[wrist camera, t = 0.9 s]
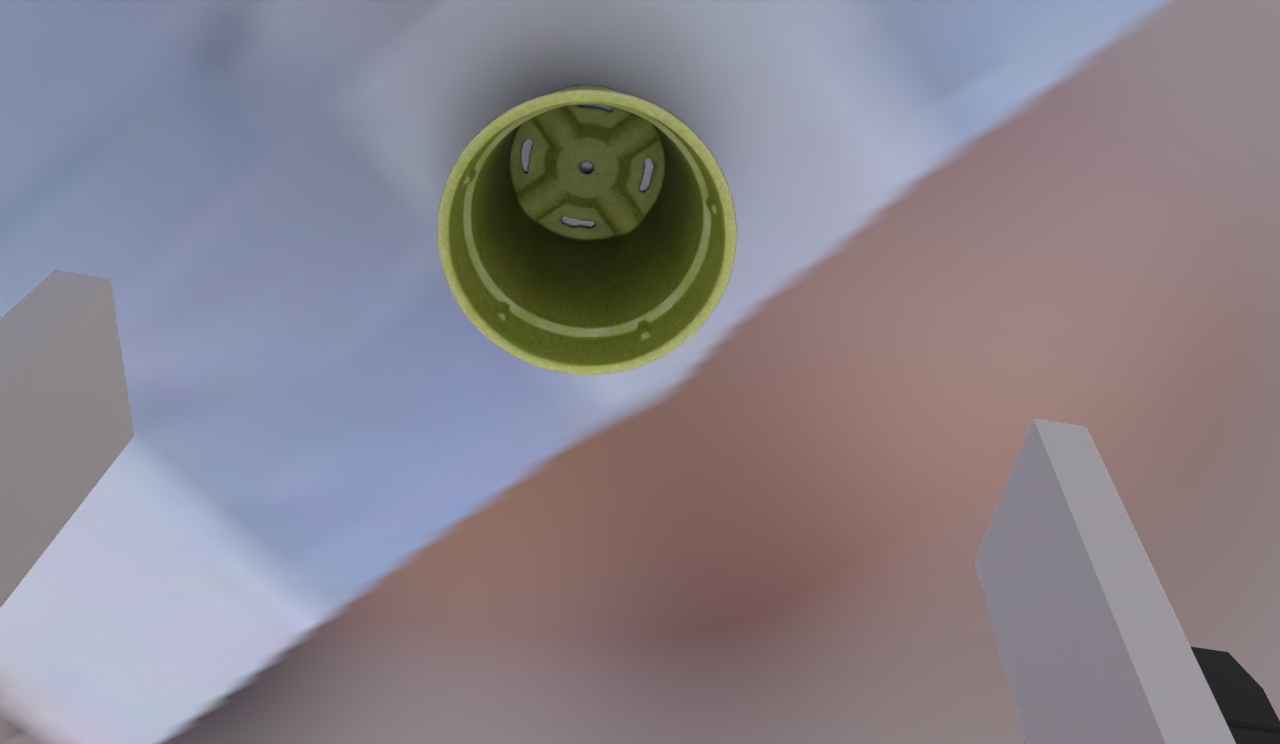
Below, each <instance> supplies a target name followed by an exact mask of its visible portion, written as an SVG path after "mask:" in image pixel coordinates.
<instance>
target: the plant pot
mask: <svg viewBox="0 0 1280 744" xmlns="http://www.w3.org/2000/svg"><path fill="white" fill-rule="evenodd" d="M579 104H598V105H606V106H612V107H613V111H612V112H608V111H605V110H600V109H595V108H588V107H579V106H578V105H579ZM527 139H532V140H533V142H534V143H533V146H532V150H531V154H530V160H529V167H528V170H529V171H528V173H527V174H525V172H524V171H523V169H522V165H521V151H522V146H523V143H524V142H525V141H526V140H527ZM647 158H650V159H651V160H652V161H653V164H654V172H653V175H652V180H651V184H650V186H649V187H648V189H647V190H646V191H645V192H641V191H640V189H639V187H640V184H641V181H642V179H643V175H644V168H645V166H644V162H645V160H646V159H647ZM583 162H590V163H591V164H593V166H594V170H593V171H592V172H591V173H590V174H587V173H583V172H582V171H581V170H580V164H582V163H583ZM564 216H566V217H569V218H575V219H578V220H586V221H594V222H595V223H596V225H594V227H593V228H582V227H577V228H573V227H570V226H567V225H565V224H563V223H562V221H561V218H562V217H564ZM437 239H438V250H439V256H440V260H441V264H442V268H443V271H444V274H445V277H446V280H447V282H448V284H449V287H450V289H451V292H452V294H453V296H454V297H455V299H456V301H457V303H458V304H459V306H460V308H461V309H462V310H463V312H464V313H465V315H466V316H467V317H468V318H469V320H470V321H471V322H472V323H473V324H474V325H475V326H476V328H477V329H478V330H479V331H480V332H481V333H482V334H484V335H485V336H486V337H487V338H488V339H489V340H491V341H492V342H493V343H495V344H496V345H498V346H499V347H500V348H502V349H504V350H505V351H507V352H508V353H510V354H512V355H513V356H515V357H517V358H519V359H521V360H523V361H525V362H527V363H529V364H532V365H534V366H538V367H541V368H544V369H547V370H552V371H557V372H565V373H570V374H578V375H597V374H609V373H616V372H622V371H626V370H630V369H634V368H637V367H640V366H642V365H645V364H647V363H649V362H651V361H654V360H656V359H658V358H660V357H662V356H664V355H666V354H668V353H670V352H671V351H673V350H674V349H676V348H677V347H679V346H680V345H681V344H682V343H684V342H685V341H686V340H687V339H688V338H690V337H691V336H692V335H693V334H694V333H695V332H696V331H697V330H698V329H699V328H700V327H701V326H702V325H703V324H704V322H705V321H706V320H707V319H708V318H709V316H710V315H711V314H712V312H713V311H714V309H715V308H716V306H717V304H718V303H719V301H720V299H721V297H722V295H723V293H724V291H725V288H726V286H727V284H728V281H729V278H730V274H731V271H732V267H733V263H734V257H735V251H736V218H735V211H734V205H733V201H732V197H731V193H730V190H729V187H728V184H727V182H726V179H725V177H724V174H723V172H722V170H721V168H720V166H719V164H718V163H717V161H716V159H715V158H714V156H713V155H712V153H711V152H710V150H709V149H708V148H707V146H706V145H705V144H704V142H703V141H702V140H701V139H700V138H699V137H698V136H697V135H696V133H695V132H694V131H693V130H692V129H690V128H689V127H688V126H687V125H686V124H685V123H684V122H682V121H681V120H680V119H679V118H677V117H676V116H675V115H673V114H672V113H670V112H668V111H667V110H665V109H663V108H662V107H660V106H658V105H656V104H654V103H652V102H650V101H647V100H645V99H642V98H640V97H637V96H634V95H631V94H627V93H623V92H618V91H615V90H612V89H609V88H605V87H600V86H591V85H584V86H573V87H567V88H563V89H560V90H558V91H555V92H553V93H549V94H545V95H541V96H538V97H535V98H532V99H530V100H527V101H525V102H523V103H520V104H518V105H516V106H514V107H512V108H510V109H509V110H507V111H506V112H504V113H503V114H501V115H499V116H498V117H496V118H495V119H494V120H492V121H491V122H490V123H489V124H487V125H486V126H485V127H484V128H483V129H482V130H481V131H480V132H479V133H478V134H477V135H476V136H475V137H474V138H473V139H472V140H471V141H470V143H469V144H468V145H467V146H466V147H465V149H464V150H463V152H462V153H461V155H460V156H459V158H458V159H457V161H456V163H455V165H454V166H453V168H452V170H451V172H450V174H449V177H448V179H447V182H446V185H445V188H444V191H443V194H442V197H441V201H440V207H439V212H438V224H437Z"/></svg>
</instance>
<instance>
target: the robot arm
mask: <svg viewBox="0 0 1280 744" xmlns="http://www.w3.org/2000/svg"><path fill="white" fill-rule="evenodd" d="M133 436H134V433H133V426H132V420H131V413H130V407H129V400H128V393H127V387H126V380H125V374H124V367H123V361H122V354H121V348H120V341H119V334H118V328H117V321H116V315H115V308H114V302H113V295H112V288H111V282H110V279H108V278H102V277H95V276H88V275H82V274H75V273H69V272H62V271H54V272H53V273H52V274H51V275H50V276H49V277H47V278H46V279H45V280H44V281H43V282H42V283H41V284H40V285H39V286H37V287H36V288H35V289H34V290H33V291H32V292H31V293H30V294H28V295H27V296H26V297H25V298H24V299H23V300H22V301H21V302H20V303H18V304H17V305H16V306H15V307H14V308H13V309H12V310H11V311H9V312H8V313H7V314H6V315H5V316H4V317H3V318H2V319H1V320H0V608H1V606H2V605H3V604H4V603H5V601H6V600H7V599H8V597H9V596H10V595H11V594H12V592H13V591H14V590H15V588H16V587H17V586H18V585H19V583H20V582H21V581H22V579H23V578H24V577H25V575H26V574H27V573H28V572H29V570H30V569H31V568H32V566H33V565H34V564H35V563H36V561H37V560H38V559H39V557H40V556H41V555H42V554H43V552H44V551H45V550H46V548H47V547H48V546H49V545H50V543H51V542H52V541H53V539H54V538H55V537H56V535H57V534H58V533H59V532H60V530H61V529H62V528H63V526H64V525H65V524H66V523H67V521H68V520H69V519H70V517H71V516H72V515H73V514H74V512H75V511H76V510H77V508H78V507H79V506H80V504H81V503H82V502H83V501H84V499H85V498H86V497H87V495H88V494H89V493H90V492H91V490H92V489H93V488H94V486H95V485H96V484H97V483H98V481H99V480H100V479H101V477H102V476H103V475H104V474H105V472H106V471H107V470H108V468H109V467H110V466H111V464H112V463H113V462H114V461H115V459H116V458H117V457H118V455H119V454H120V453H121V452H122V450H123V449H124V448H125V446H126V445H127V444H128V443H129V441H130V440H131V439H132V437H133ZM974 562H975V565H976V569H977V573H978V576H979V580H980V583H981V587H982V591H983V594H984V598H985V602H986V605H987V609H988V612H989V616H990V620H991V623H992V627H993V630H994V634H995V638H996V641H997V645H998V649H999V652H1000V656H1001V659H1002V663H1003V667H1004V670H1005V674H1006V678H1007V681H1008V684H1009V689H1010V692H1011V696H1012V699H1013V703H1014V707H1015V710H1016V714H1017V717H1018V721H1019V725H1020V728H1021V732H1022V735H1023V739H1024V743H1025V744H1280V721H1279V719H1278V717H1277V715H1276V713H1275V711H1274V709H1273V708H1272V706H1271V704H1270V702H1269V700H1268V698H1267V696H1266V694H1265V692H1264V690H1263V689H1262V688H1261V686H1260V685H1259V684H1258V683H1257V682H1256V681H1255V680H1254V679H1253V678H1252V677H1251V676H1250V675H1249V674H1248V673H1247V672H1246V671H1245V670H1244V669H1243V668H1242V666H1240V664H1239V663H1238V662H1237V661H1236V660H1235V659H1234V658H1233V657H1232V656H1231V655H1230V654H1229V653H1228V652H1223V651H1216V650H1209V649H1202V648H1195V647H1190V645H1189V643H1188V641H1187V639H1186V637H1185V635H1184V632H1183V631H1182V628H1181V626H1180V624H1179V622H1178V620H1177V618H1176V615H1175V613H1174V611H1173V609H1172V607H1171V606H1170V603H1169V601H1168V599H1167V596H1166V594H1165V592H1164V590H1163V588H1162V586H1161V584H1160V582H1159V580H1158V577H1157V575H1156V573H1155V571H1154V569H1153V567H1152V565H1151V563H1150V560H1149V558H1148V556H1147V554H1146V552H1145V550H1144V548H1143V546H1142V544H1141V541H1140V539H1139V537H1138V535H1137V533H1136V531H1135V529H1134V527H1133V525H1132V522H1131V520H1130V518H1129V516H1128V514H1127V512H1126V510H1125V508H1124V505H1123V504H1122V501H1121V499H1120V497H1119V495H1118V493H1117V491H1116V489H1115V487H1114V484H1113V482H1112V480H1111V478H1110V476H1109V474H1108V472H1107V470H1106V467H1105V465H1104V463H1103V461H1102V459H1101V457H1100V455H1099V453H1098V451H1097V448H1096V446H1095V444H1094V442H1093V440H1092V438H1091V436H1090V434H1089V431H1088V429H1087V428H1086V427H1085V426H1078V425H1071V424H1065V423H1058V422H1052V421H1045V420H1038V419H1033V421H1032V423H1031V425H1030V428H1029V430H1028V433H1027V435H1026V437H1025V440H1024V442H1023V445H1022V447H1021V450H1020V452H1019V454H1018V457H1017V459H1016V462H1015V464H1014V466H1013V469H1012V471H1011V473H1010V476H1009V478H1008V481H1007V483H1006V486H1005V488H1004V490H1003V493H1002V495H1001V498H1000V500H999V503H998V505H997V507H996V510H995V512H994V514H993V517H992V519H991V522H990V524H989V527H988V529H987V532H986V534H985V536H984V539H983V541H982V543H981V546H980V549H979V551H978V553H977V555H976V558H975V560H974Z"/></svg>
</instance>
